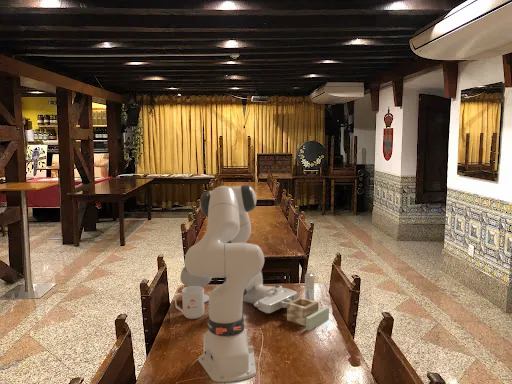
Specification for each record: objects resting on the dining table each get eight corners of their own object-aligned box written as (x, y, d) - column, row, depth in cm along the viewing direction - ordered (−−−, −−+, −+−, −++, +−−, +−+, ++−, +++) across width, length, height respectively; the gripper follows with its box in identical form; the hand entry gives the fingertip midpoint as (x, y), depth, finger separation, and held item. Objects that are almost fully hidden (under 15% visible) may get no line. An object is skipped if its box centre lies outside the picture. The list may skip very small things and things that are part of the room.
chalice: (208, 292, 208) (207, 262, 206) (215, 303, 195) (214, 270, 193) (179, 296, 204) (178, 265, 202) (183, 307, 191) (182, 273, 189)
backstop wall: (305, 330, 167) (305, 317, 167) (325, 318, 178) (325, 306, 177) (309, 331, 166) (309, 318, 166) (328, 319, 177) (329, 307, 176)
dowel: (315, 307, 190) (315, 275, 188) (306, 308, 189) (306, 276, 187) (311, 303, 194) (312, 272, 192) (303, 304, 193) (303, 273, 191)
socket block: (287, 320, 176) (287, 303, 175) (300, 313, 183) (300, 296, 182) (305, 326, 170) (305, 308, 169) (318, 318, 177) (318, 302, 176)
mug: (204, 310, 187) (203, 285, 186) (204, 319, 178) (204, 292, 177) (175, 312, 185) (174, 286, 184) (174, 321, 177) (173, 294, 175)
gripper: (251, 297, 180) (277, 305, 171) (281, 284, 195) (307, 291, 186) (251, 311, 180) (277, 320, 171) (281, 298, 196) (307, 305, 187)
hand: (293, 305), depth 179 cm, fingers closed, pressing on socket block
